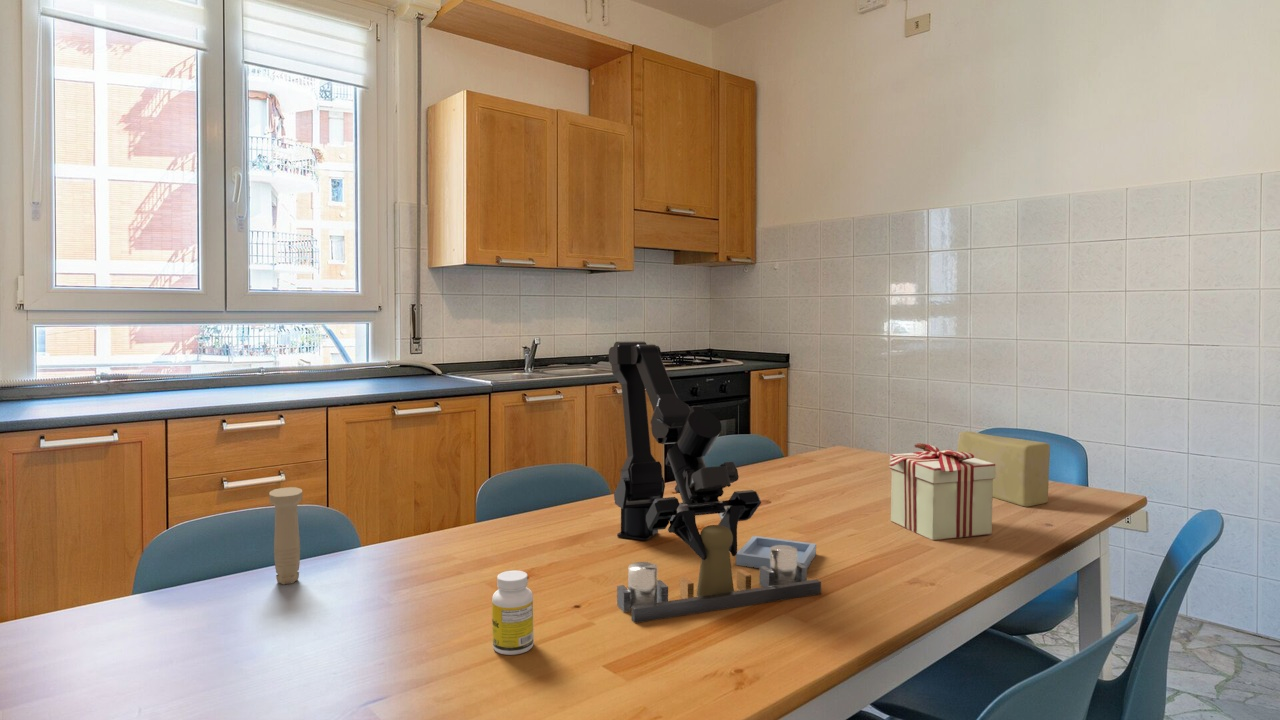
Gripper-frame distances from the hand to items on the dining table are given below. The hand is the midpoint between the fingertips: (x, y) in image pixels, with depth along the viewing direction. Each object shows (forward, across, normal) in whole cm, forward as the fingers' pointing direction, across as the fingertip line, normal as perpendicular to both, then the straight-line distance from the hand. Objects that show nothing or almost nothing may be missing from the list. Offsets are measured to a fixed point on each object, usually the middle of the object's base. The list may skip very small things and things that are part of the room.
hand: (720, 556), depth 116 cm
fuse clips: (+5, 0, +4) cm, 7 cm away
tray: (-4, +18, +14) cm, 23 cm away
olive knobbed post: (+4, 0, +6) cm, 7 cm away
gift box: (-8, +60, +17) cm, 63 cm away
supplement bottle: (+9, -34, +1) cm, 35 cm away
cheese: (-20, +96, +30) cm, 103 cm away
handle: (-17, -64, +27) cm, 71 cm away
